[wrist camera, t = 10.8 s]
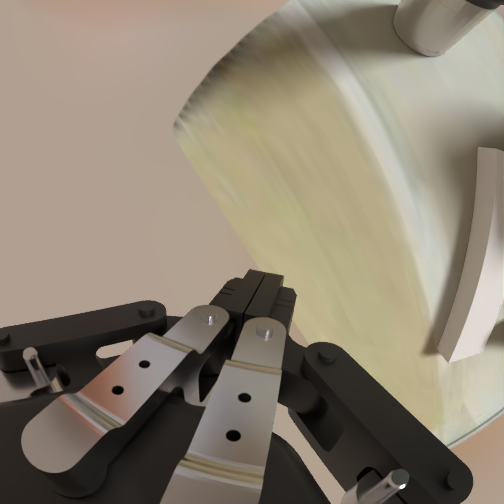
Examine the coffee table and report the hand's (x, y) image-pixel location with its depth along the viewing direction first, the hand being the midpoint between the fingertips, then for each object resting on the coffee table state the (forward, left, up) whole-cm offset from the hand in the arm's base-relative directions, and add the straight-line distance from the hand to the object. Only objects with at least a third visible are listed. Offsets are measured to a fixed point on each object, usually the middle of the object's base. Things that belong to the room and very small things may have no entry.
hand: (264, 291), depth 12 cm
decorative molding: (+3, +32, -28) cm, 42 cm away
